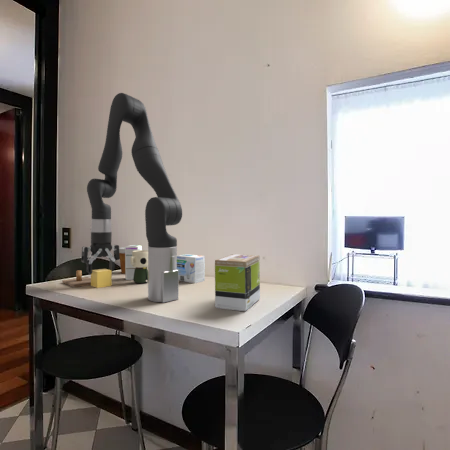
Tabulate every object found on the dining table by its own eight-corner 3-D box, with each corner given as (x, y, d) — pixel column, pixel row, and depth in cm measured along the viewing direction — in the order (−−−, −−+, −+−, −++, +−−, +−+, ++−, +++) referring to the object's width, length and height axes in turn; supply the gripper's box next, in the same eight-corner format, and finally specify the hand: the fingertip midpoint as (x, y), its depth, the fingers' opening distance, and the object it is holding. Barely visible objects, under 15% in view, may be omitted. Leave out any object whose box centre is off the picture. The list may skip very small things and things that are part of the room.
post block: (100, 283, 125) (100, 271, 124) (74, 287, 117) (74, 274, 117) (87, 279, 133) (87, 267, 133) (62, 282, 125) (62, 270, 125)
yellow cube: (111, 285, 121) (111, 270, 121) (97, 287, 117) (97, 272, 117) (104, 283, 125) (104, 268, 125) (90, 285, 121) (90, 270, 120)
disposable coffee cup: (114, 274, 145) (113, 248, 145) (123, 270, 155) (123, 246, 154) (133, 275, 144) (133, 249, 143) (141, 271, 153) (141, 247, 153)
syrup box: (138, 280, 132) (138, 246, 131) (124, 280, 132) (124, 246, 131) (142, 277, 137) (142, 245, 137) (129, 277, 137) (129, 244, 137)
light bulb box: (175, 280, 132) (175, 255, 132) (186, 278, 138) (186, 253, 138) (195, 283, 126) (195, 257, 126) (205, 280, 132) (205, 255, 132)
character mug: (137, 286, 120) (137, 252, 120) (124, 284, 124) (124, 251, 124) (157, 281, 130) (157, 250, 130) (144, 279, 134) (144, 249, 133)
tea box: (232, 296, 106) (232, 253, 106) (260, 299, 102) (261, 254, 102) (213, 308, 92) (214, 258, 92) (245, 312, 88) (246, 260, 88)
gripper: (87, 231, 113) (86, 276, 113) (123, 230, 123) (122, 271, 124) (78, 230, 118) (78, 273, 118) (113, 230, 128) (113, 269, 129)
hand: (100, 272), depth 121 cm, fingers open, 8 cm apart
